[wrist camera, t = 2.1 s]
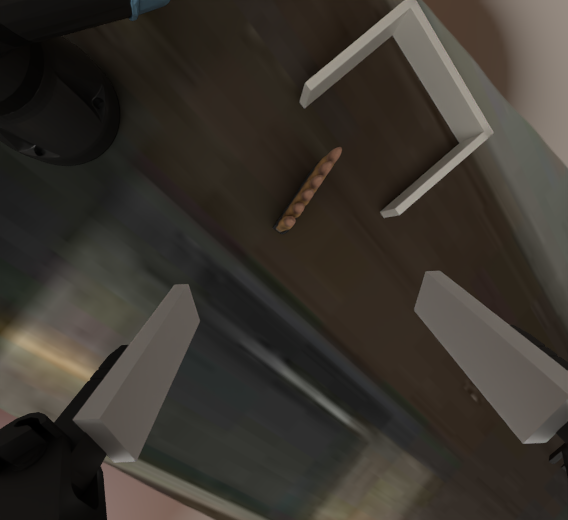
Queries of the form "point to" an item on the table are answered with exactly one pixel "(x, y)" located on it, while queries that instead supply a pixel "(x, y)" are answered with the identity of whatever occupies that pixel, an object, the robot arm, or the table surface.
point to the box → (434, 76)
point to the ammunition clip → (306, 191)
